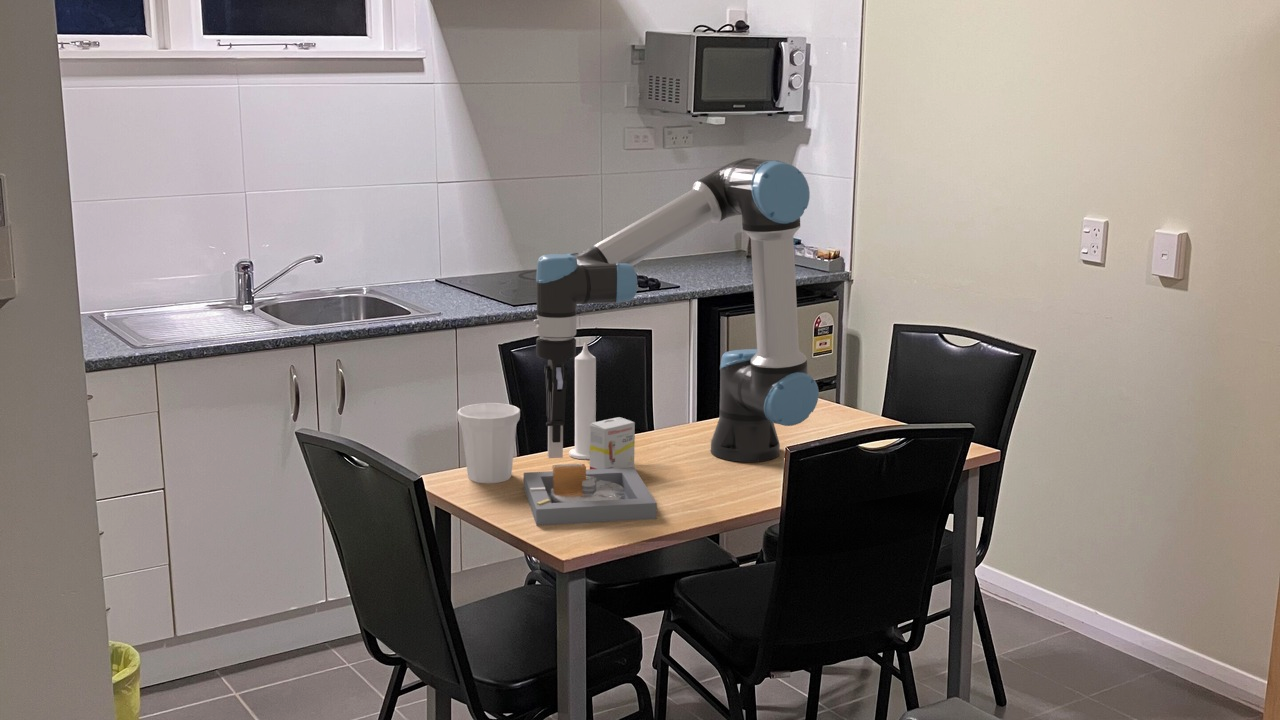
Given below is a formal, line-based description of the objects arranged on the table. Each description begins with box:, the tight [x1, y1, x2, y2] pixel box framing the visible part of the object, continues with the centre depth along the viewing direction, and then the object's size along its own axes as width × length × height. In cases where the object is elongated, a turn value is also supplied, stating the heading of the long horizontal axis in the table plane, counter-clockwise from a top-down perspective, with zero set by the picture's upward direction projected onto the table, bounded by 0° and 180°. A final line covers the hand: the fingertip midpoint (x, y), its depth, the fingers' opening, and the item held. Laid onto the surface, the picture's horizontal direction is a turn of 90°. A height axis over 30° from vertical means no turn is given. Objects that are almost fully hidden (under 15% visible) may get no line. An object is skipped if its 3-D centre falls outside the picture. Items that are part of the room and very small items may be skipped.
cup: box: [456, 402, 521, 484], centre depth 250 cm, size 12×12×15 cm
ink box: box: [589, 416, 636, 470], centre depth 255 cm, size 9×5×12 cm, turn 133°
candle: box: [568, 342, 597, 460], centre depth 269 cm, size 7×7×25 cm
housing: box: [523, 466, 658, 526], centre depth 236 cm, size 22×22×5 cm
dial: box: [551, 463, 625, 503], centre depth 235 cm, size 14×14×7 cm
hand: (555, 456), depth 240 cm, fingers closed
